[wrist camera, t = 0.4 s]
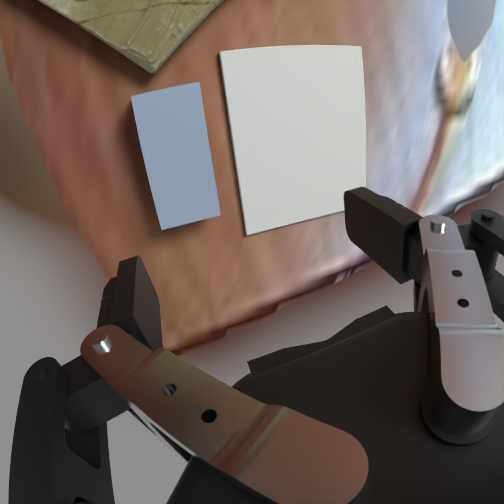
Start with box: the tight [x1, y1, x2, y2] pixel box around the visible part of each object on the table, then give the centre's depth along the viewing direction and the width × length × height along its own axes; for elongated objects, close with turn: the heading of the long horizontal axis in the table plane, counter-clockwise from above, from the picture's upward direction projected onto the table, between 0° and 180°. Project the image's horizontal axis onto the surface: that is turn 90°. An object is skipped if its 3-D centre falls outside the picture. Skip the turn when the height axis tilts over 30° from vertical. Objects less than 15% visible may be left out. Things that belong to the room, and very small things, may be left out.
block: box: [131, 82, 221, 230], centre depth 27 cm, size 12×6×4 cm, turn 7°
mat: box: [219, 45, 366, 235], centre depth 31 cm, size 19×15×1 cm
